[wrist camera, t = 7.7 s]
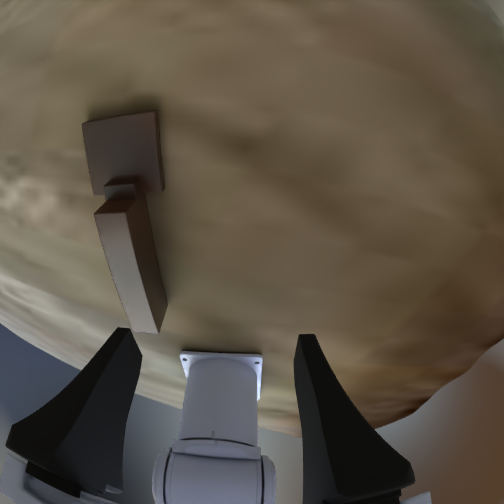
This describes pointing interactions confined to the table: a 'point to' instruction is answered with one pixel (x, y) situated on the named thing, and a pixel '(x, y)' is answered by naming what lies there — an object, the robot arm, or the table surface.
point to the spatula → (129, 209)
